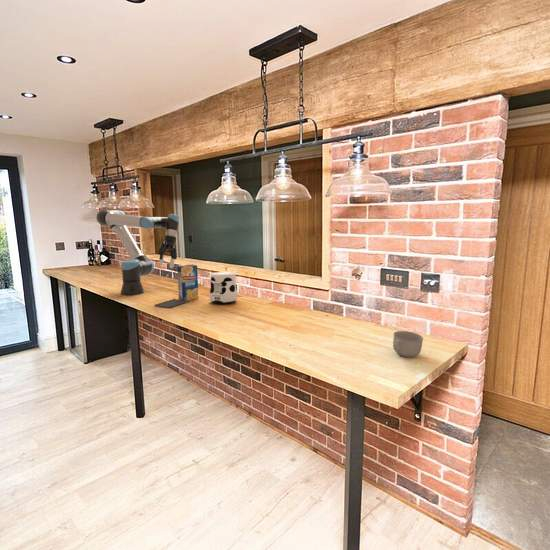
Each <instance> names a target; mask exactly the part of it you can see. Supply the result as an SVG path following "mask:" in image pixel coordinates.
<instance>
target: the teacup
mask: <svg viewBox="0 0 550 550" xmlns="http://www.w3.org/2000/svg"><path fill="white" fill-rule="evenodd" d="M423 340H424V337H423V336H422V335H421V334H419V333H416V332H413V331H406V330H398V331H395V332H394V333H393V342H392V344H393V345H392V347H393V350H394V351H395V352H396V354H397V355H399V356H401V357H404V358H414V357H416V356H418V355H419V354H421V351H422V347H423Z"/></svg>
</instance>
